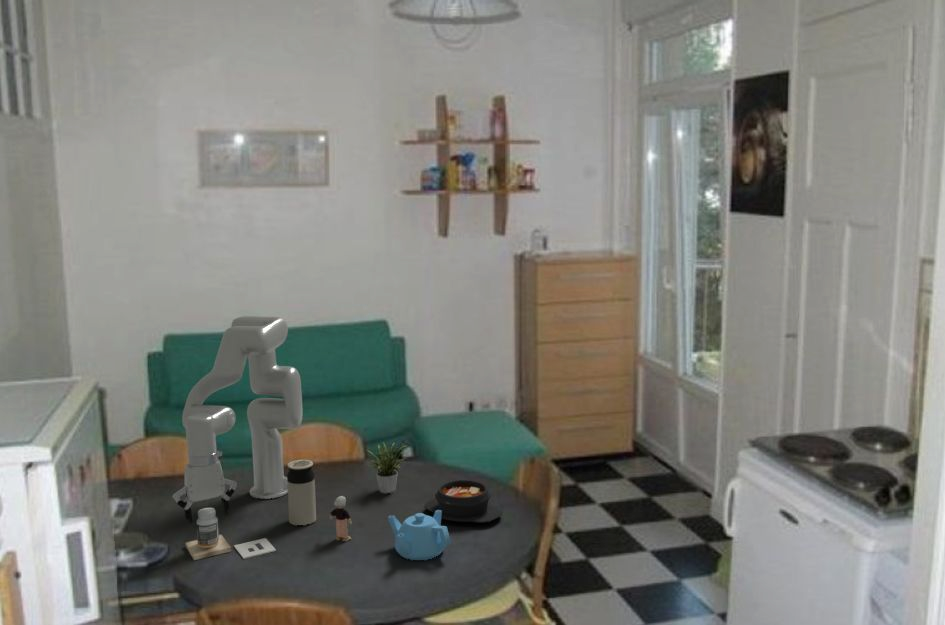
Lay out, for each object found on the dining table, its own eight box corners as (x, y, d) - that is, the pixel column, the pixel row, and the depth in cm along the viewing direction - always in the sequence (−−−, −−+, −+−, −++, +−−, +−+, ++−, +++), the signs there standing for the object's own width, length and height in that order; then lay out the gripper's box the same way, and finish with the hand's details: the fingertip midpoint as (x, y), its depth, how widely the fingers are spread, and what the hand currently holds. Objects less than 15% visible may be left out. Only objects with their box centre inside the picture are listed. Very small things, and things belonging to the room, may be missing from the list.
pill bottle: (200, 540, 235) (198, 507, 233) (221, 539, 235) (219, 506, 234) (195, 549, 229) (193, 515, 228) (216, 548, 230) (214, 514, 228)
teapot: (396, 567, 221) (395, 528, 219) (388, 543, 235) (387, 507, 233) (452, 560, 224) (452, 522, 222) (441, 537, 239) (440, 501, 237)
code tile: (265, 539, 238) (265, 537, 238) (275, 551, 231) (275, 549, 231) (234, 546, 234) (234, 545, 234) (243, 559, 226) (243, 557, 226)
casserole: (412, 516, 253) (411, 490, 252) (446, 496, 269) (446, 471, 267) (481, 535, 240) (481, 507, 239) (514, 512, 255) (514, 486, 254)
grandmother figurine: (357, 537, 239) (355, 495, 237) (350, 543, 235) (349, 500, 233) (333, 534, 241) (331, 492, 239) (326, 539, 238) (324, 497, 236)
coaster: (221, 538, 239) (221, 534, 239) (231, 551, 231) (231, 547, 231) (185, 546, 234) (185, 542, 234) (194, 560, 226) (194, 556, 225)
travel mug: (321, 518, 253) (319, 461, 250) (305, 528, 245) (303, 469, 243) (300, 514, 256) (297, 457, 253) (283, 523, 249) (280, 466, 246)
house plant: (421, 488, 276) (420, 441, 273) (395, 502, 264) (394, 453, 261) (387, 480, 283) (386, 434, 280) (361, 493, 272) (359, 445, 269)
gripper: (230, 448, 236) (234, 505, 239) (166, 460, 227) (172, 519, 230) (238, 456, 230) (242, 514, 233) (173, 469, 221) (178, 529, 224)
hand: (207, 517), depth 232 cm, fingers open, 9 cm apart
